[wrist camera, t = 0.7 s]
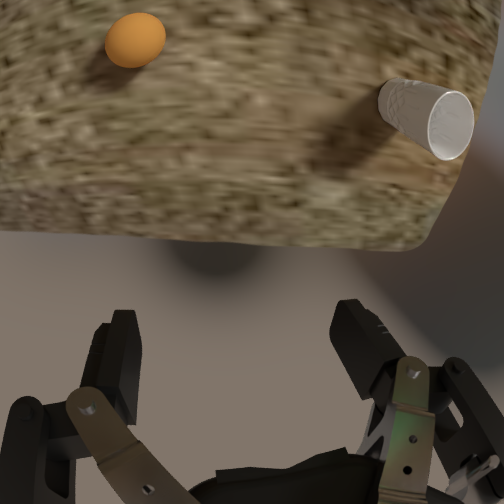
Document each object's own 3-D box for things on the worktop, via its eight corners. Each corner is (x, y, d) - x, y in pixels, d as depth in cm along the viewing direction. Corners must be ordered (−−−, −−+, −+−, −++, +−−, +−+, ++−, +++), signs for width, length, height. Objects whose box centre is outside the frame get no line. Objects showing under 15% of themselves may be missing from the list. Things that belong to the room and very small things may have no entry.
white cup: (369, 128, 32) (420, 159, 24) (376, 68, 27) (434, 83, 19) (414, 132, 33) (465, 162, 26) (422, 79, 28) (479, 99, 21)
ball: (103, 54, 21) (86, 56, 17) (132, 9, 19) (120, 0, 14) (148, 75, 24) (139, 79, 19) (178, 30, 21) (176, 24, 17)
